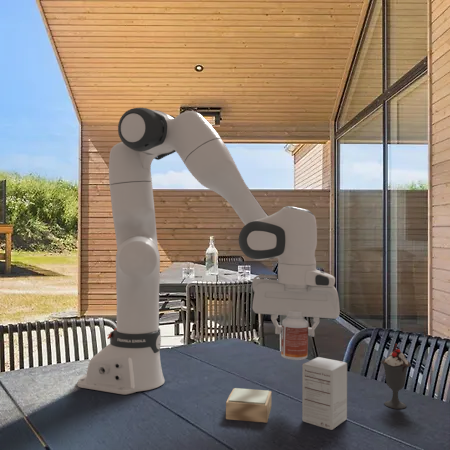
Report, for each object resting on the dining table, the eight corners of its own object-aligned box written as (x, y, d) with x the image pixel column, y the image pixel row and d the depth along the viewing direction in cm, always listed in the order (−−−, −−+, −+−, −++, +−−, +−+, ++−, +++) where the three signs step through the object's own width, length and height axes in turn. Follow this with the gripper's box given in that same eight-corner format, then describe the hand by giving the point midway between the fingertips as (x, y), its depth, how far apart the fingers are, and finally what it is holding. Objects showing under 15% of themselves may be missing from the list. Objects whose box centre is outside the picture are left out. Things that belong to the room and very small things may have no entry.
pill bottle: (313, 358, 116) (314, 311, 115) (293, 362, 112) (294, 313, 112) (295, 352, 121) (296, 306, 121) (275, 355, 117) (277, 308, 117)
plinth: (225, 419, 108) (226, 400, 108) (233, 404, 117) (233, 387, 117) (267, 422, 106) (267, 404, 106) (271, 407, 115) (271, 390, 115)
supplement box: (317, 411, 113) (318, 356, 113) (347, 420, 108) (348, 362, 108) (300, 421, 107) (301, 363, 107) (332, 431, 102) (332, 370, 102)
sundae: (391, 411, 113) (392, 346, 113) (375, 401, 119) (375, 339, 119) (416, 409, 115) (417, 344, 114) (398, 398, 121) (399, 337, 121)
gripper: (250, 274, 115) (249, 334, 115) (341, 279, 111) (339, 341, 111) (254, 272, 121) (252, 328, 122) (340, 276, 117) (338, 334, 118)
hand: (294, 334), depth 116 cm, fingers closed on pill bottle, 6 cm apart
